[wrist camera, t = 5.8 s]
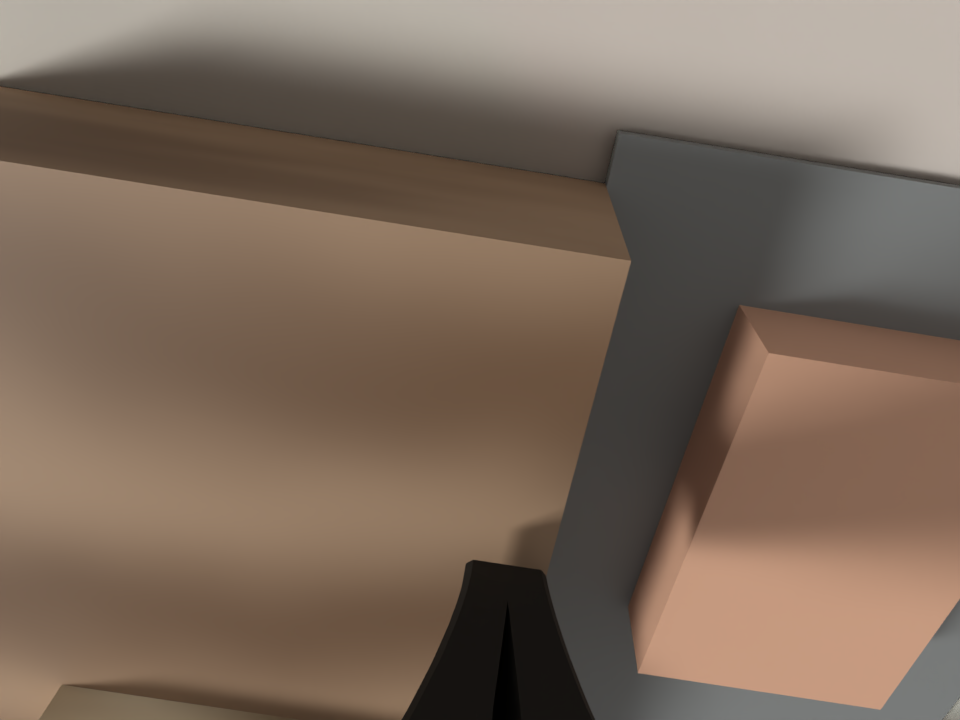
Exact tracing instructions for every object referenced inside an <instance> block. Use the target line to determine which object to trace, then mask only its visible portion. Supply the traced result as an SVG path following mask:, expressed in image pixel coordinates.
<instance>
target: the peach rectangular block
mask: <svg viewBox="0 0 960 720" xmlns="http://www.w3.org/2000/svg"><path fill="white" fill-rule="evenodd" d="M959 599H960V340H954V339H948V338H942V337H935V336H929V335H923V334H917V333H910V332H904V331H898V330H892V329H886V328H879V327H873V326H867V325H861V324H854V323H848V322H842V321H836V320H830V319H823V318H817V317H811V316H805V315H798V314H792V313H786V312H780V311H774V310H767V309H761V308H755V307H749V306H743V305H739V307H738V310H737V313H736V315H735V318H734V321H733V323H732V326H731V329H730V332H729V334H728V337H727V340H726V342H725V345H724V348H723V351H722V353H721V356H720V359H719V361H718V364H717V367H716V369H715V372H714V375H713V378H712V380H711V383H710V386H709V388H708V391H707V394H706V397H705V399H704V402H703V405H702V407H701V410H700V413H699V416H698V418H697V421H696V424H695V426H694V429H693V432H692V435H691V437H690V440H689V443H688V445H687V448H686V451H685V453H684V456H683V459H682V462H681V464H680V467H679V470H678V472H677V475H676V478H675V481H674V483H673V486H672V489H671V491H670V494H669V497H668V500H667V502H666V505H665V508H664V510H663V513H662V516H661V519H660V521H659V524H658V527H657V529H656V532H655V535H654V537H653V540H652V543H651V546H650V548H649V551H648V554H647V556H646V559H645V562H644V565H643V567H642V570H641V573H640V575H639V578H638V581H637V584H636V586H635V589H634V592H633V594H632V597H631V600H630V603H629V605H628V610H629V617H630V624H631V630H632V637H633V643H634V650H635V657H636V663H637V670H638V673H641V674H647V675H654V676H661V677H667V678H674V679H680V680H687V681H694V682H700V683H707V684H714V685H720V686H727V687H733V688H740V689H747V690H753V691H760V692H766V693H773V694H780V695H786V696H793V697H800V698H806V699H813V700H819V701H826V702H833V703H839V704H846V705H852V706H859V707H866V708H872V709H879V710H881V708H882V707H883V706H884V704H885V703H886V701H887V700H888V699H889V697H890V696H891V694H892V693H893V692H894V690H895V689H896V687H897V686H898V685H899V683H900V682H901V680H902V679H903V678H904V676H905V675H906V673H907V672H908V671H909V669H910V668H911V666H912V665H913V664H914V662H915V661H916V659H917V658H918V657H919V655H920V654H921V652H922V651H923V650H924V648H925V647H926V645H927V644H928V643H929V641H930V640H931V638H932V637H933V636H934V634H935V633H936V631H937V630H938V629H939V627H940V626H941V624H942V623H943V622H944V620H945V619H946V617H947V616H948V615H949V613H950V612H951V610H952V609H953V608H954V606H955V605H956V603H957V602H958V601H959Z"/></svg>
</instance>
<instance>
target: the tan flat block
mask: <svg viewBox="0 0 960 720" xmlns="http://www.w3.org/2000/svg"><path fill="white" fill-rule="evenodd" d="M630 264H631V259H630V256H629V253H628V250H627V247H626V244H625V241H624V238H623V235H622V232H621V229H620V226H619V223H618V220H617V217H616V214H615V211H614V208H613V205H612V202H611V199H610V196H609V193H608V190H607V188H606V185H605V183H600V182H593V181H587V180H581V179H575V178H568V177H562V176H556V175H550V174H544V173H537V172H531V171H525V170H519V169H512V168H506V167H500V166H494V165H487V164H481V163H475V162H469V161H462V160H456V159H450V158H444V157H438V156H431V155H425V154H419V153H413V152H406V151H400V150H394V149H388V148H381V147H375V146H369V145H363V144H356V143H350V142H344V141H338V140H331V139H325V138H319V137H313V136H307V135H300V134H294V133H288V132H282V131H275V130H269V129H263V128H257V127H250V126H244V125H238V124H232V123H225V122H219V121H213V120H207V119H201V118H194V117H188V116H182V115H176V114H169V113H163V112H157V111H151V110H144V109H138V108H132V107H126V106H119V105H113V104H107V103H101V102H94V101H88V100H82V99H76V98H70V97H63V96H57V95H51V94H45V93H38V92H32V91H26V90H20V89H13V88H7V87H1V86H0V720H39V719H40V717H41V716H42V714H43V713H44V711H45V710H46V708H47V706H48V705H49V703H50V702H51V700H52V699H53V697H54V696H55V694H56V693H57V691H58V690H59V688H60V686H61V685H67V686H74V687H81V688H88V689H95V690H101V691H108V692H115V693H122V694H129V695H135V696H142V697H149V698H156V699H163V700H169V701H176V702H183V703H190V704H197V705H203V706H210V707H217V708H224V709H231V710H237V711H244V712H251V713H258V714H265V715H271V716H278V717H285V718H292V719H299V720H402V718H403V716H404V715H405V713H406V711H407V709H408V707H409V706H410V704H411V702H412V700H413V698H414V696H415V694H416V692H417V690H418V688H419V686H420V685H421V683H422V681H423V679H424V677H425V675H426V673H427V671H428V669H429V667H430V665H431V663H432V661H433V659H434V657H435V654H436V652H437V650H438V648H439V645H440V643H441V641H442V638H443V636H444V634H445V632H446V629H447V627H448V625H449V622H450V620H451V617H452V614H453V611H454V609H455V606H456V603H457V600H458V597H459V594H460V590H461V587H462V582H463V576H464V571H465V565H466V563H468V562H469V561H471V560H479V561H486V562H492V563H499V564H506V565H512V566H519V567H526V568H532V569H539V570H542V571H543V573H544V574H545V575H547V572H548V568H549V564H550V561H551V557H552V553H553V549H554V546H555V542H556V538H557V535H558V531H559V527H560V523H561V520H562V516H563V512H564V509H565V505H566V501H567V497H568V494H569V490H570V486H571V483H572V479H573V475H574V472H575V468H576V464H577V460H578V457H579V453H580V449H581V446H582V442H583V438H584V434H585V431H586V427H587V423H588V420H589V416H590V412H591V408H592V405H593V401H594V397H595V394H596V390H597V386H598V382H599V379H600V375H601V371H602V368H603V364H604V360H605V357H606V353H607V349H608V345H609V342H610V338H611V334H612V331H613V327H614V323H615V319H616V316H617V312H618V308H619V305H620V301H621V297H622V293H623V290H624V286H625V282H626V279H627V275H628V271H629V268H630Z"/></svg>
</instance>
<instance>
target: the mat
mask: <svg viewBox="0 0 960 720" xmlns="http://www.w3.org/2000/svg"><path fill="white" fill-rule="evenodd" d="M605 185H606V188H607V190H608V193H609V196H610V199H611V202H612V205H613V208H614V211H615V214H616V217H617V220H618V223H619V226H620V229H621V232H622V235H623V238H624V241H625V244H626V247H627V250H628V253H629V256H630V259H631V264H630V268H629V271H628V275H627V279H626V282H625V286H624V290H623V293H622V297H621V301H620V305H619V308H618V312H617V316H616V319H615V323H614V327H613V331H612V334H611V338H610V342H609V345H608V349H607V353H606V357H605V360H604V364H603V368H602V371H601V375H600V379H599V382H598V386H597V390H596V394H595V397H594V401H593V405H592V408H591V412H590V416H589V420H588V423H587V427H586V431H585V434H584V438H583V442H582V446H581V449H580V453H579V457H578V460H577V464H576V468H575V472H574V475H573V479H572V483H571V486H570V490H569V494H568V497H567V501H566V505H565V509H564V512H563V516H562V520H561V523H560V527H559V531H558V535H557V538H556V542H555V546H554V549H553V553H552V557H551V561H550V564H549V568H548V572H547V575H546V578H547V583H548V588H549V592H550V596H551V600H552V603H553V607H554V610H555V614H556V617H557V620H558V624H559V627H560V630H561V633H562V636H563V639H564V642H565V645H566V648H567V650H568V653H569V656H570V659H571V661H572V664H573V667H574V669H575V672H576V674H577V677H578V680H579V682H580V685H581V687H582V690H583V692H584V695H585V697H586V700H587V702H588V704H589V707H590V709H591V711H592V714H593V716H594V718H595V720H942V719H943V718H944V717H945V715H946V714H947V713H948V712H949V710H950V709H951V708H952V707H953V705H954V704H955V703H956V702H957V700H958V699H959V698H960V599H959V601H958V602H957V603H956V605H955V606H954V608H953V609H952V610H951V612H950V613H949V615H948V616H947V617H946V619H945V620H944V622H943V623H942V624H941V626H940V627H939V629H938V630H937V631H936V633H935V634H934V636H933V637H932V638H931V640H930V641H929V643H928V644H927V645H926V647H925V648H924V650H923V651H922V652H921V654H920V655H919V657H918V658H917V659H916V661H915V662H914V664H913V665H912V666H911V668H910V669H909V671H908V672H907V673H906V675H905V676H904V678H903V679H902V680H901V682H900V683H899V685H898V686H897V687H896V689H895V690H894V692H893V693H892V694H891V696H890V697H889V699H888V700H887V701H886V703H885V704H884V706H883V707H882V708H881V710H879V709H872V708H866V707H859V706H852V705H846V704H839V703H833V702H826V701H819V700H813V699H806V698H800V697H793V696H786V695H780V694H773V693H766V692H760V691H753V690H747V689H740V688H733V687H727V686H720V685H714V684H707V683H700V682H694V681H687V680H680V679H674V678H667V677H661V676H654V675H647V674H641V673H638V670H637V663H636V657H635V650H634V643H633V637H632V630H631V624H630V617H629V610H628V605H629V603H630V600H631V597H632V594H633V592H634V589H635V586H636V584H637V581H638V578H639V575H640V573H641V570H642V567H643V565H644V562H645V559H646V556H647V554H648V551H649V548H650V546H651V543H652V540H653V537H654V535H655V532H656V529H657V527H658V524H659V521H660V519H661V516H662V513H663V510H664V508H665V505H666V502H667V500H668V497H669V494H670V491H671V489H672V486H673V483H674V481H675V478H676V475H677V472H678V470H679V467H680V464H681V462H682V459H683V456H684V453H685V451H686V448H687V445H688V443H689V440H690V437H691V435H692V432H693V429H694V426H695V424H696V421H697V418H698V416H699V413H700V410H701V407H702V405H703V402H704V399H705V397H706V394H707V391H708V388H709V386H710V383H711V380H712V378H713V375H714V372H715V369H716V367H717V364H718V361H719V359H720V356H721V353H722V351H723V348H724V345H725V342H726V340H727V337H728V334H729V332H730V329H731V326H732V323H733V321H734V318H735V315H736V313H737V310H738V307H739V305H743V306H749V307H755V308H761V309H767V310H774V311H780V312H786V313H792V314H798V315H805V316H811V317H817V318H823V319H830V320H836V321H842V322H848V323H854V324H861V325H867V326H873V327H879V328H886V329H892V330H898V331H904V332H910V333H917V334H923V335H929V336H935V337H942V338H948V339H954V340H960V185H954V184H948V183H942V182H936V181H929V180H923V179H917V178H911V177H905V176H899V175H892V174H886V173H880V172H874V171H868V170H861V169H855V168H849V167H843V166H837V165H830V164H824V163H818V162H812V161H806V160H800V159H793V158H787V157H781V156H775V155H769V154H762V153H756V152H750V151H744V150H738V149H731V148H725V147H719V146H713V145H707V144H701V143H694V142H688V141H682V140H676V139H670V138H663V137H657V136H651V135H645V134H639V133H632V132H626V131H620V130H618V131H617V135H616V139H615V143H614V148H613V152H612V156H611V160H610V165H609V169H608V173H607V177H606V182H605Z"/></svg>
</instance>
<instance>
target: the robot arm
mask: <svg viewBox="0 0 960 720" xmlns="http://www.w3.org/2000/svg"><path fill="white" fill-rule="evenodd" d="M402 720H595V718H594V716H593V714H592V711H591V709H590V707H589V704H588V702H587V700H586V697H585V695H584V692H583V690H582V687H581V685H580V682H579V680H578V677H577V674H576V672H575V669H574V667H573V664H572V661H571V659H570V656H569V653H568V650H567V648H566V645H565V642H564V639H563V636H562V633H561V630H560V627H559V624H558V620H557V617H556V614H555V610H554V607H553V603H552V600H551V596H550V592H549V588H548V583H547V578H546V575H545V574H544V573H543V571H542V570H539V569H532V568H526V567H519V566H512V565H506V564H499V563H492V562H486V561H479V560H471V561H469V562H468V563H466V565H465V571H464V576H463V582H462V587H461V590H460V594H459V597H458V600H457V603H456V606H455V609H454V611H453V614H452V617H451V620H450V622H449V625H448V627H447V629H446V632H445V634H444V636H443V638H442V641H441V643H440V645H439V648H438V650H437V652H436V654H435V657H434V659H433V661H432V663H431V665H430V667H429V669H428V671H427V673H426V675H425V677H424V679H423V681H422V683H421V685H420V686H419V688H418V690H417V692H416V694H415V696H414V698H413V700H412V702H411V704H410V706H409V707H408V709H407V711H406V713H405V715H404V716H403V718H402Z"/></svg>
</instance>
